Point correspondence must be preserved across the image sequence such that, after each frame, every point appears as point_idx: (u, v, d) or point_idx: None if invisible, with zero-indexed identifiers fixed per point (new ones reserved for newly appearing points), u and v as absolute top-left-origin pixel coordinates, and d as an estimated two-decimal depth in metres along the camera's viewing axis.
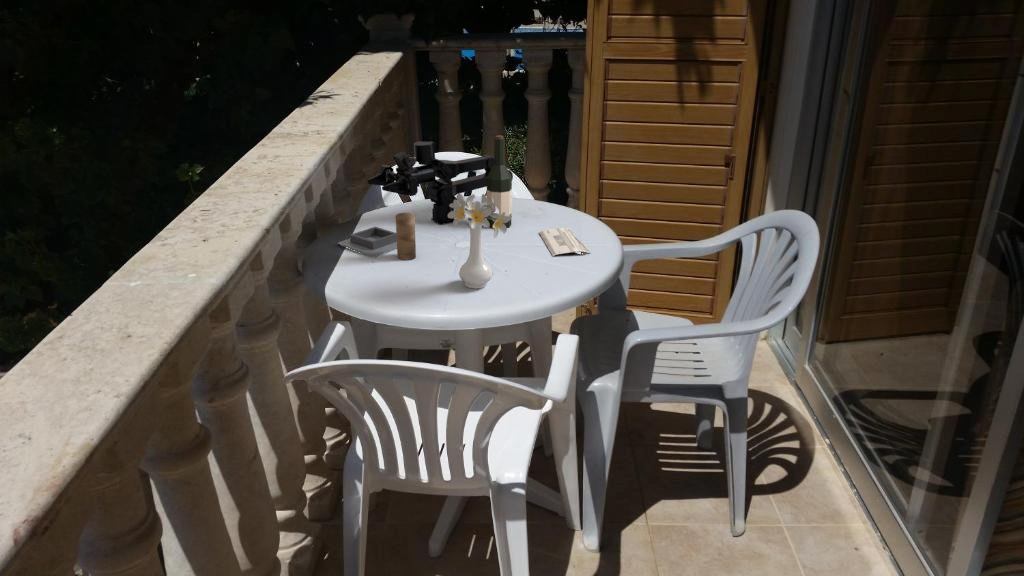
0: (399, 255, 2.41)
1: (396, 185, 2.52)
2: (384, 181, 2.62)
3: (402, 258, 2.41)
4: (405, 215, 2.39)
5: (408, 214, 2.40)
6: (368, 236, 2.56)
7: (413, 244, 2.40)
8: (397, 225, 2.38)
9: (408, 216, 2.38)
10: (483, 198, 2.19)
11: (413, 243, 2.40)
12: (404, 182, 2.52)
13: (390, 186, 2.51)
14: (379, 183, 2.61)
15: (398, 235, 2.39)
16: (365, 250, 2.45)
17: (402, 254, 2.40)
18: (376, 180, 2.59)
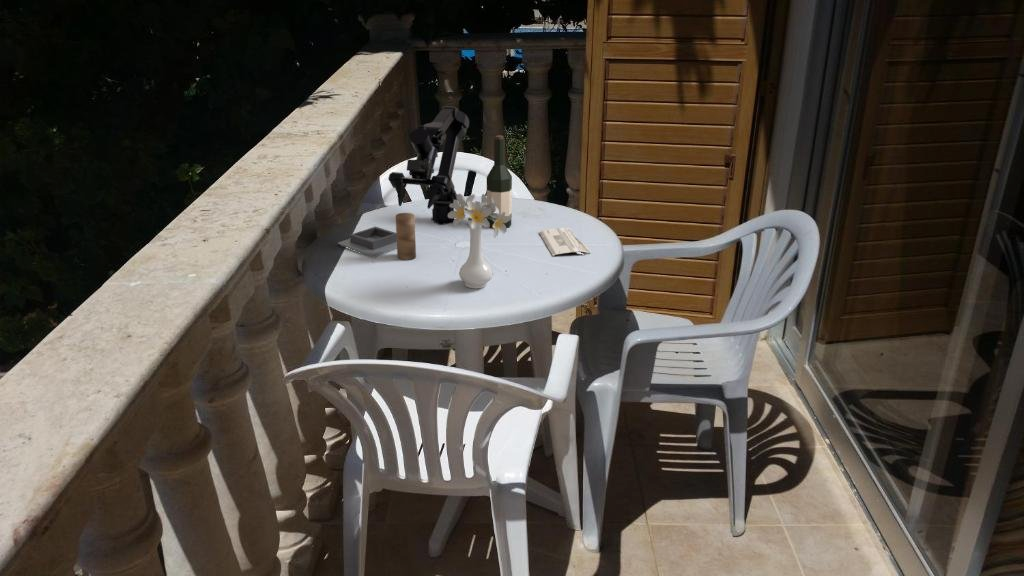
0: (399, 255, 2.41)
1: (434, 194, 2.45)
2: (404, 189, 2.50)
3: (402, 258, 2.41)
4: (405, 215, 2.39)
5: (408, 214, 2.40)
6: (368, 236, 2.56)
7: (413, 244, 2.40)
8: (397, 225, 2.38)
9: (408, 216, 2.38)
10: (483, 198, 2.19)
11: (413, 243, 2.40)
12: (440, 187, 2.45)
13: (432, 200, 2.45)
14: (403, 195, 2.49)
15: (398, 235, 2.39)
16: (365, 250, 2.45)
17: (402, 254, 2.40)
18: (402, 196, 2.48)
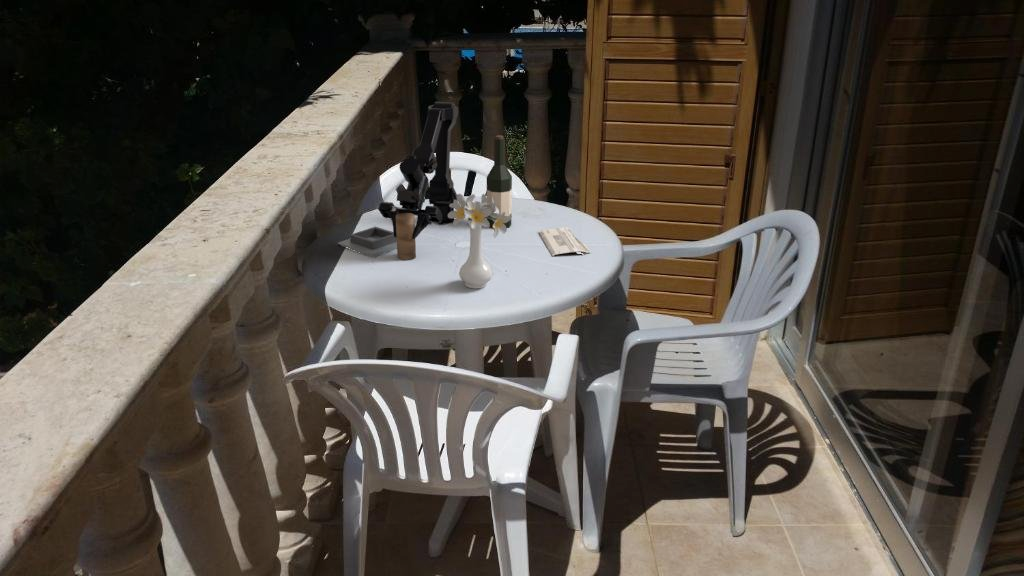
0: (399, 255, 2.41)
1: (420, 225, 2.40)
2: None
3: (402, 258, 2.41)
4: (405, 215, 2.39)
5: (408, 214, 2.39)
6: (368, 236, 2.56)
7: (413, 244, 2.40)
8: (397, 225, 2.38)
9: (408, 216, 2.38)
10: (483, 198, 2.19)
11: (413, 243, 2.40)
12: (426, 217, 2.39)
13: (417, 231, 2.39)
14: None
15: (398, 235, 2.39)
16: (365, 250, 2.45)
17: (402, 254, 2.40)
18: None
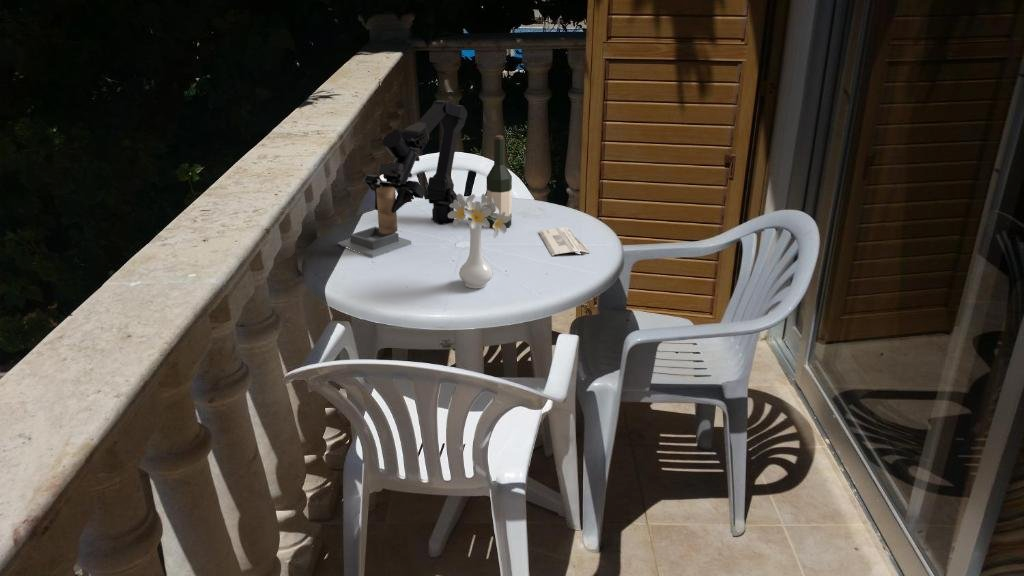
0: (379, 228, 2.43)
1: (400, 199, 2.41)
2: None
3: (382, 231, 2.43)
4: (386, 188, 2.40)
5: (389, 188, 2.41)
6: (368, 236, 2.56)
7: (393, 218, 2.42)
8: (377, 198, 2.40)
9: (388, 189, 2.39)
10: (483, 198, 2.19)
11: (393, 217, 2.41)
12: (406, 192, 2.40)
13: (397, 205, 2.40)
14: None
15: (378, 208, 2.41)
16: (365, 250, 2.45)
17: (382, 227, 2.42)
18: None
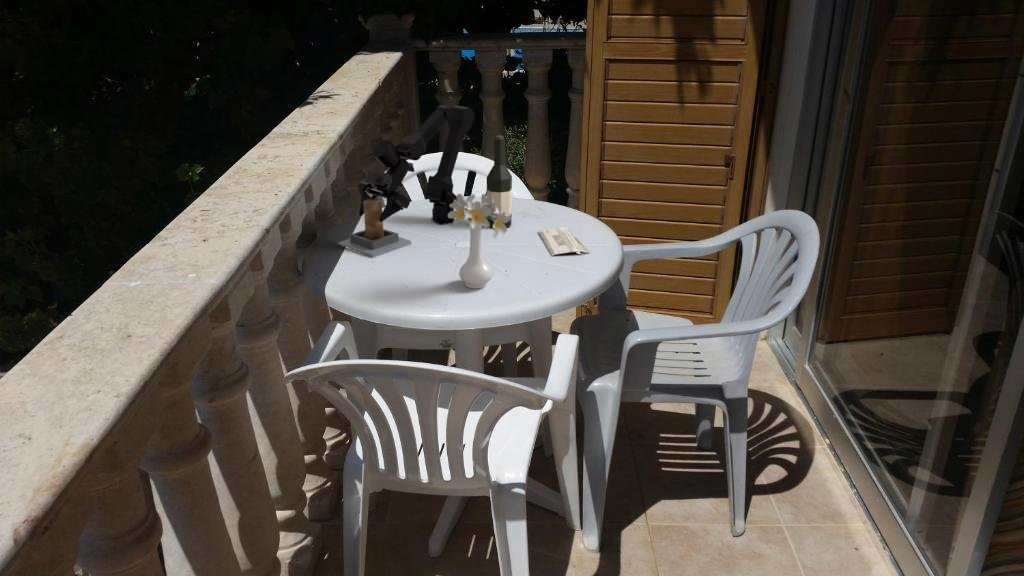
0: None
1: (389, 209, 2.46)
2: None
3: None
4: (373, 201, 2.48)
5: (377, 200, 2.48)
6: None
7: (377, 230, 2.49)
8: (364, 209, 2.48)
9: (374, 202, 2.47)
10: (483, 198, 2.19)
11: (377, 229, 2.49)
12: (394, 202, 2.45)
13: (385, 214, 2.46)
14: None
15: None
16: (365, 250, 2.45)
17: (367, 238, 2.50)
18: None
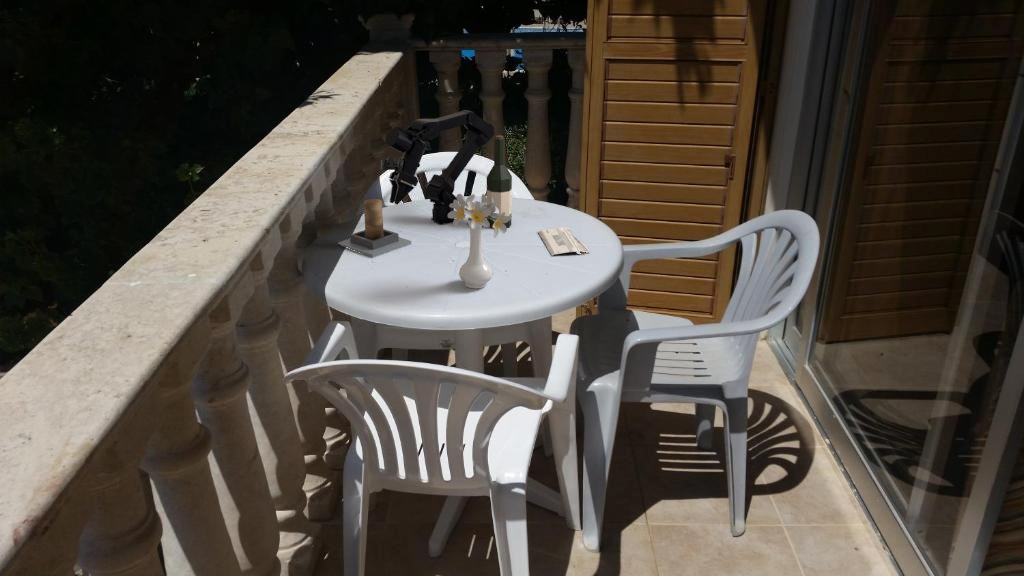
0: (366, 238, 2.51)
1: (400, 190, 2.53)
2: None
3: None
4: (373, 200, 2.48)
5: (377, 200, 2.48)
6: None
7: (377, 230, 2.49)
8: (364, 209, 2.48)
9: (374, 202, 2.47)
10: (483, 198, 2.19)
11: (378, 229, 2.49)
12: (401, 183, 2.51)
13: (398, 196, 2.53)
14: None
15: None
16: (365, 250, 2.45)
17: (367, 238, 2.50)
18: (395, 194, 2.63)
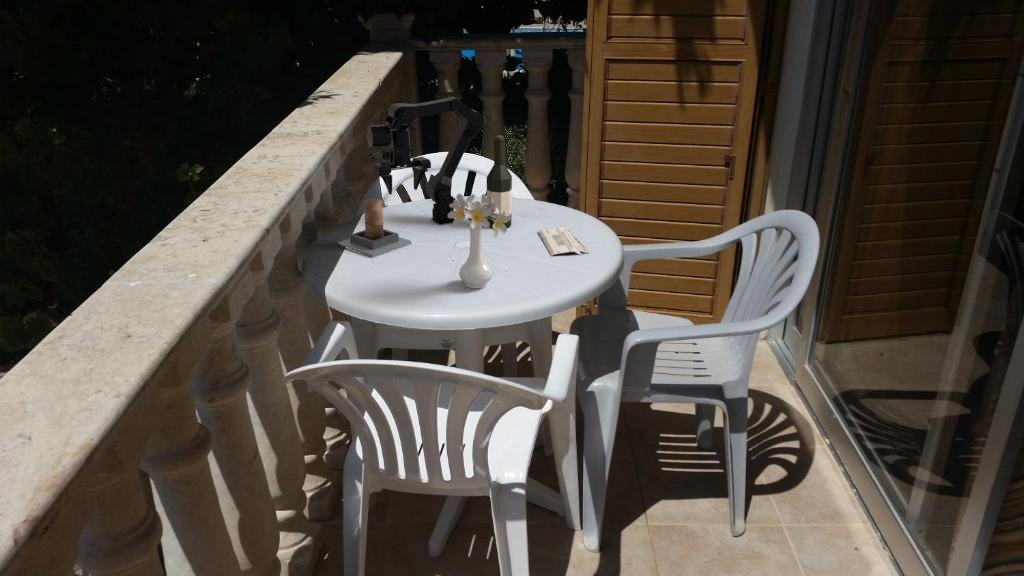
0: (366, 238, 2.51)
1: (385, 181, 2.60)
2: (417, 172, 2.64)
3: None
4: (374, 200, 2.48)
5: (377, 200, 2.48)
6: None
7: (378, 230, 2.49)
8: (364, 209, 2.48)
9: (375, 202, 2.47)
10: (483, 198, 2.19)
11: (378, 229, 2.49)
12: None
13: (387, 187, 2.61)
14: (417, 177, 2.64)
15: (365, 219, 2.49)
16: (365, 250, 2.45)
17: (367, 238, 2.50)
18: (415, 180, 2.66)
